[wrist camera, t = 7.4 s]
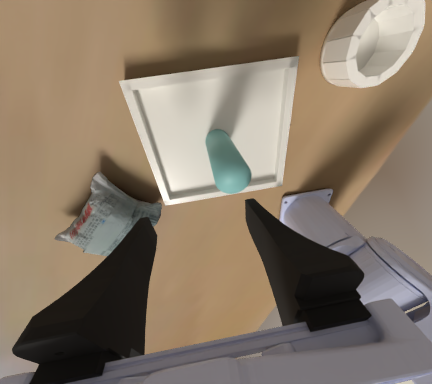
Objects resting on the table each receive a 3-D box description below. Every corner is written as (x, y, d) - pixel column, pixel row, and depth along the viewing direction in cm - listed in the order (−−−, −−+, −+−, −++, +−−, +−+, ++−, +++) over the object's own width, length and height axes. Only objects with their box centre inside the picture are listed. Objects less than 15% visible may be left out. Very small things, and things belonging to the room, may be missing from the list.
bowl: (366, 80, 19) (400, 82, 16) (313, 88, 18) (337, 91, 15) (393, 1, 15) (442, -17, 12) (328, 9, 15) (363, -7, 12)
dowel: (229, 151, 21) (250, 191, 14) (206, 154, 20) (216, 196, 13) (229, 127, 19) (252, 158, 12) (203, 130, 19) (213, 163, 12)
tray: (277, 180, 25) (281, 185, 23) (166, 198, 24) (165, 205, 23) (290, 57, 17) (298, 55, 15) (124, 80, 16) (118, 81, 15)
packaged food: (66, 223, 24) (43, 252, 20) (104, 163, 20) (84, 186, 16) (126, 244, 28) (116, 272, 24) (167, 199, 24) (164, 224, 20)
